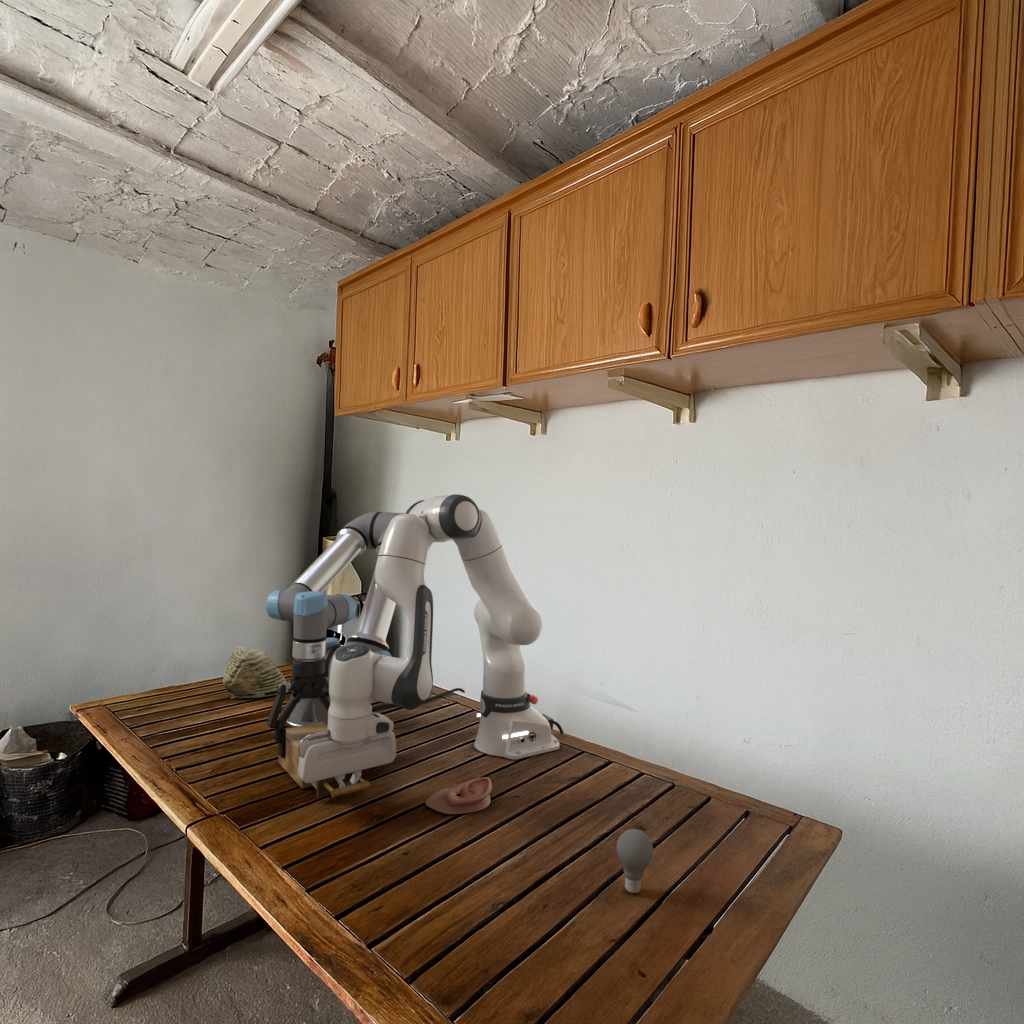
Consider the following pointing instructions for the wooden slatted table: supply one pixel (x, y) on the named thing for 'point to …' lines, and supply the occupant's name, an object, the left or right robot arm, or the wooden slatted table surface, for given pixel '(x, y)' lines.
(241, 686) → the fossil
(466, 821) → the wooden slatted table surface
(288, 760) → the cabinet
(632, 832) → the light bulb
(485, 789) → the anatomical model
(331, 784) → the drawer
